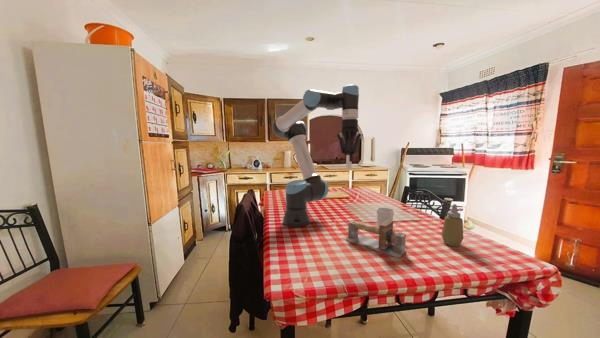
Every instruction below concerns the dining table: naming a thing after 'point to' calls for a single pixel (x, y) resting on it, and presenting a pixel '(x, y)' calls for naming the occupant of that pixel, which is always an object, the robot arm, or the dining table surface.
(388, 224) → the collar
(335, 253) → the dining table surface
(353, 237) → the rail
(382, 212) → the cup
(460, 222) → the squeeze bottle
